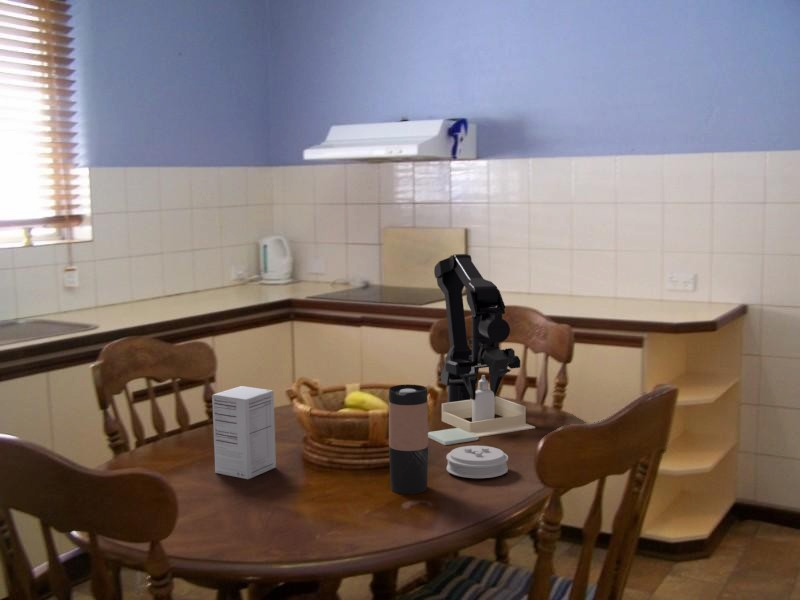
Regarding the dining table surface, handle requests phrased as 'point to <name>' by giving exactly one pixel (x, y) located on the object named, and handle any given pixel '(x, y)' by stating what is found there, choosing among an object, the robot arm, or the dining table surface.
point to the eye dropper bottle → (483, 402)
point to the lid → (477, 462)
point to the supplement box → (244, 431)
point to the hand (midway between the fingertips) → (483, 398)
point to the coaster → (452, 436)
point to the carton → (508, 422)
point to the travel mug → (408, 438)
